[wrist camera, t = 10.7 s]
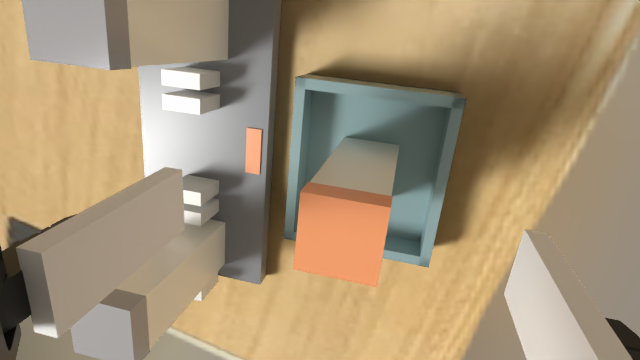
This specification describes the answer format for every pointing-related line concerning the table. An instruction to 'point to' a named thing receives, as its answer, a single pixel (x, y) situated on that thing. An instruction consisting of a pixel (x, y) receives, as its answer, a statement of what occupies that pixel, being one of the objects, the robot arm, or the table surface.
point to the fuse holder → (221, 134)
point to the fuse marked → (347, 212)
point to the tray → (387, 127)
